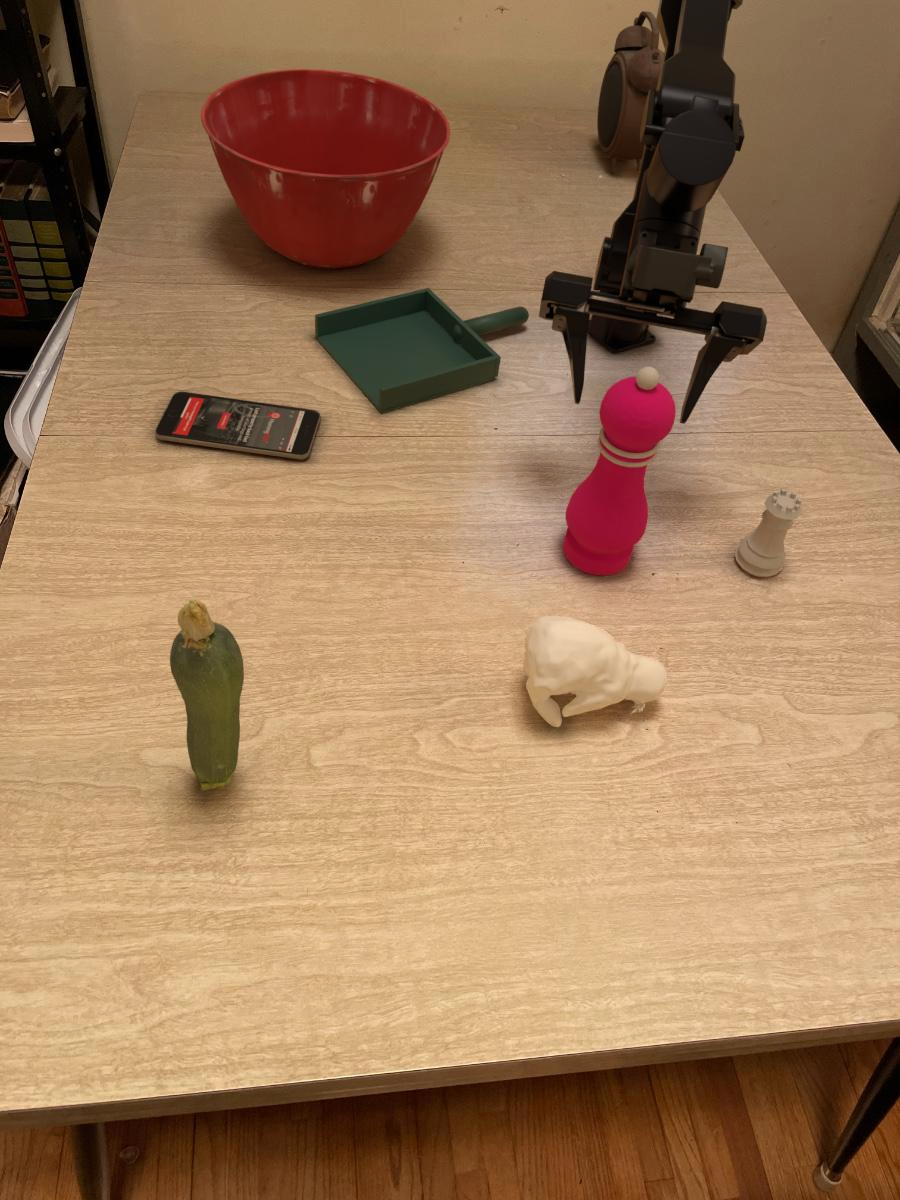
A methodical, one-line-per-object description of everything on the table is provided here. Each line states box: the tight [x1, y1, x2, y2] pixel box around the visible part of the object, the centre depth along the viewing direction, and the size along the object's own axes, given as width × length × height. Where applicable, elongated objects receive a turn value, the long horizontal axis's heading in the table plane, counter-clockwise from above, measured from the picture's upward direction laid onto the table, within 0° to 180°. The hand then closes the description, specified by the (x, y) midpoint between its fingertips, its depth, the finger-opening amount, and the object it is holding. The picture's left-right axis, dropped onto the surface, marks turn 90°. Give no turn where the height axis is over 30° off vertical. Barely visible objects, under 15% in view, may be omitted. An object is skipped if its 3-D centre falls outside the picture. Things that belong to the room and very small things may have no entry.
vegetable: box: [169, 598, 245, 791], centre depth 62 cm, size 4×4×20 cm
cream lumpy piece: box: [522, 615, 668, 728], centre depth 74 cm, size 6×8×12 cm
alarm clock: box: [596, 10, 664, 175], centre depth 139 cm, size 15×7×20 cm, turn 6°
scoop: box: [314, 287, 530, 414], centre depth 107 cm, size 24×15×3 cm, turn 122°
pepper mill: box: [562, 366, 677, 577], centre depth 81 cm, size 7×7×20 cm
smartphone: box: [154, 391, 322, 461], centre depth 95 cm, size 7×1×15 cm
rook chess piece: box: [734, 488, 803, 578], centre depth 87 cm, size 4×4×8 cm
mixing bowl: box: [200, 68, 451, 270], centre depth 116 cm, size 28×28×16 cm
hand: (629, 413), depth 83 cm, fingers open, 9 cm apart
